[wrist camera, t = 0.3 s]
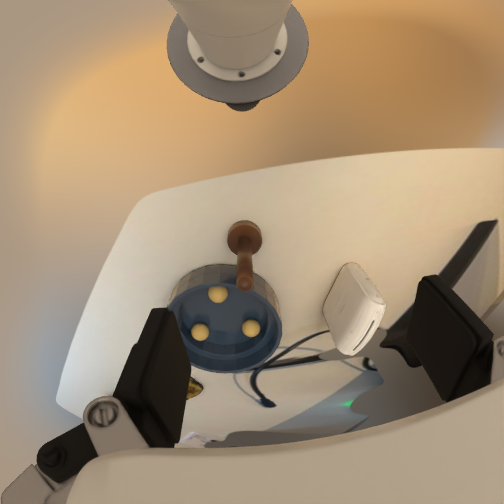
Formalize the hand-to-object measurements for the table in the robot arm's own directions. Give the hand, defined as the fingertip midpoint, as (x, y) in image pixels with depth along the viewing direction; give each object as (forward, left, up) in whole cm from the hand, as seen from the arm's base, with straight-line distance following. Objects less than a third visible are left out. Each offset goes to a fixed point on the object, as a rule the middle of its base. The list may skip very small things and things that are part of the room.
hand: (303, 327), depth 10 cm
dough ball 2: (+17, -8, -30) cm, 35 cm away
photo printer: (+20, +12, -32) cm, 39 cm away
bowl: (+22, -8, -32) cm, 39 cm away
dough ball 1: (+24, -12, -30) cm, 40 cm away
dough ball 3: (+24, -4, -30) cm, 39 cm away
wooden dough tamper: (+9, -3, -32) cm, 33 cm away
